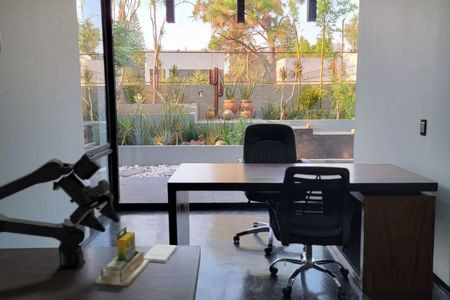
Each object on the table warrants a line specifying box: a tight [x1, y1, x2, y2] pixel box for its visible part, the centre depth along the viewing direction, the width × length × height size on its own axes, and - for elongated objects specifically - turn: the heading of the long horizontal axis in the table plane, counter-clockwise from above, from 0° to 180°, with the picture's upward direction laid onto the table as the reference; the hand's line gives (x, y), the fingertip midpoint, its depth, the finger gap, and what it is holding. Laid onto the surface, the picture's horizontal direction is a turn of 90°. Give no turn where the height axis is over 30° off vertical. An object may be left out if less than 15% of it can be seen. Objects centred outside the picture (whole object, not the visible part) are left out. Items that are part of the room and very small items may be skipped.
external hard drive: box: [144, 243, 178, 263], centre depth 139 cm, size 2×8×12 cm
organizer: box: [95, 249, 150, 287], centre depth 125 cm, size 10×16×5 cm, turn 169°
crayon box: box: [116, 226, 136, 263], centre depth 127 cm, size 7×3×12 cm, turn 169°
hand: (111, 226), depth 127 cm, fingers open, 9 cm apart
